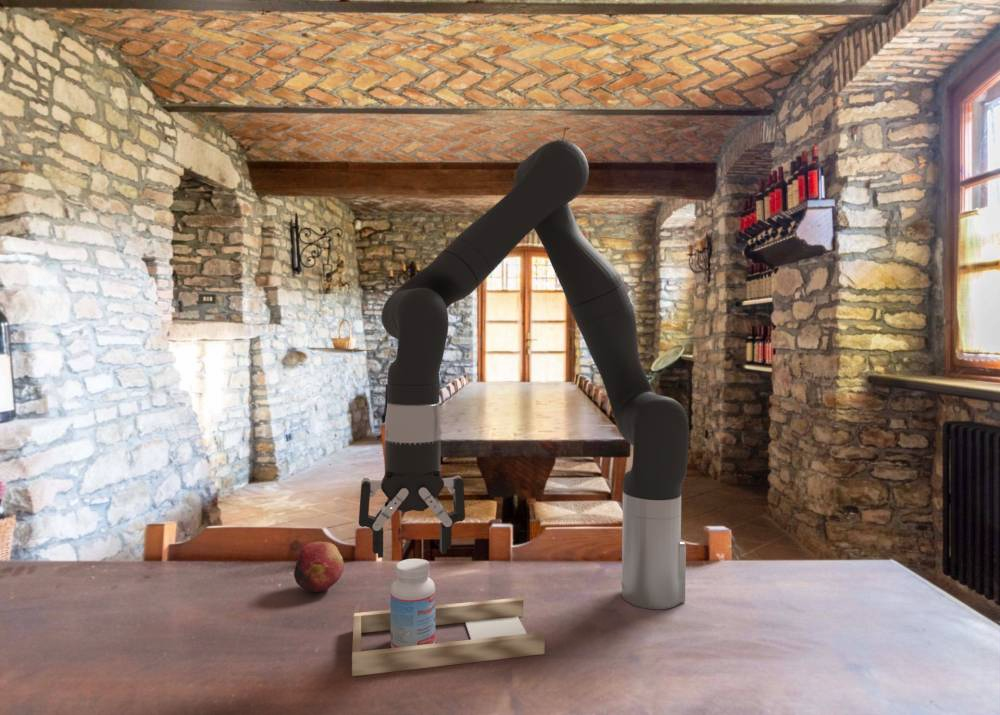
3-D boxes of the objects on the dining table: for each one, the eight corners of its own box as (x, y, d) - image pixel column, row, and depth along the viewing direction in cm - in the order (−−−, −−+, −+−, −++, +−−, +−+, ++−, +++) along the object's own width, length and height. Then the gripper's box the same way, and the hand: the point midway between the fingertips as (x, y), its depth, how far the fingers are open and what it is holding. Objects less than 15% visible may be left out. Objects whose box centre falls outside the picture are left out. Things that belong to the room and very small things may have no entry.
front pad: (517, 618, 89) (517, 616, 89) (534, 648, 81) (534, 646, 81) (465, 623, 88) (465, 621, 88) (476, 655, 79) (476, 653, 79)
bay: (521, 613, 91) (521, 597, 91) (544, 653, 79) (544, 635, 79) (354, 630, 86) (354, 613, 86) (352, 676, 74) (352, 656, 74)
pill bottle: (427, 659, 78) (427, 574, 78) (383, 654, 79) (383, 571, 79) (440, 636, 84) (441, 558, 84) (400, 632, 85) (400, 554, 85)
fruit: (349, 593, 98) (349, 545, 98) (302, 605, 94) (302, 555, 93) (334, 578, 104) (333, 533, 104) (289, 588, 100) (288, 541, 100)
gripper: (460, 430, 86) (459, 541, 86) (359, 432, 83) (359, 547, 83) (469, 439, 79) (467, 560, 79) (358, 441, 76) (358, 567, 76)
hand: (411, 553), depth 81 cm, fingers open, 8 cm apart
